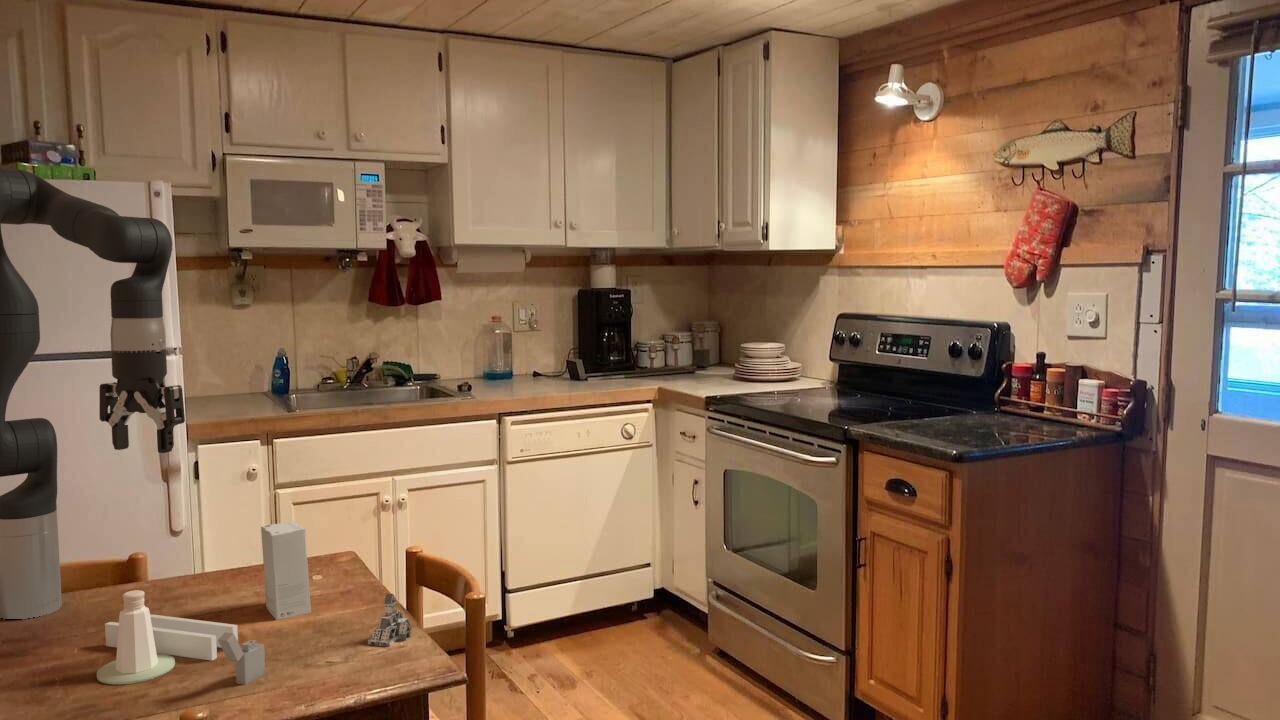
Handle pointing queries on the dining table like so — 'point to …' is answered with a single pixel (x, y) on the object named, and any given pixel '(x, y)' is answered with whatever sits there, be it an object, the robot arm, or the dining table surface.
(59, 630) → the dining table surface
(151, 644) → the pepper shaker
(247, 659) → the lighter
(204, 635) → the low walls
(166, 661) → the pad
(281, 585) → the skincare box
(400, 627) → the house of cards
